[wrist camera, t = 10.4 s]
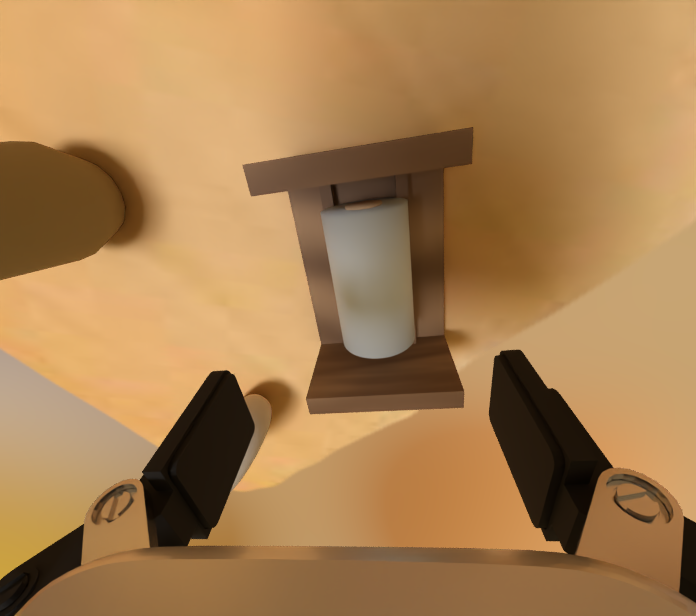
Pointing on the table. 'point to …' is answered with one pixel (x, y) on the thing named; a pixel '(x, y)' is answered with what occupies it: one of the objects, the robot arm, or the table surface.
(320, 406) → the cradle
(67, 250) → the squeeze bottle
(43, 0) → the table surface
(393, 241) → the roll
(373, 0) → the table surface
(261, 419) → the donut
